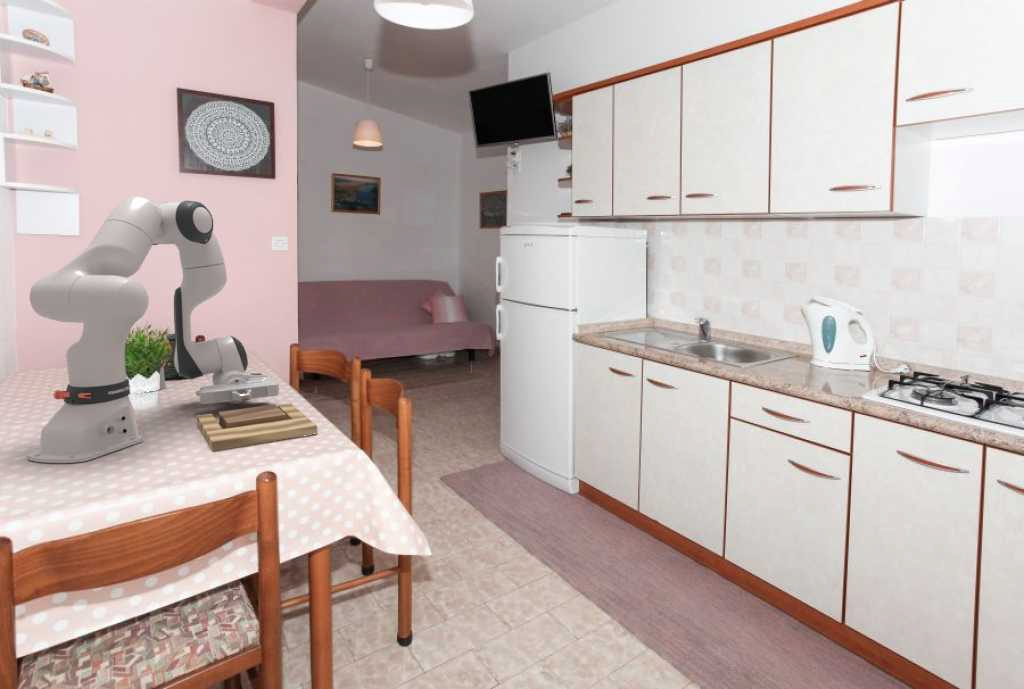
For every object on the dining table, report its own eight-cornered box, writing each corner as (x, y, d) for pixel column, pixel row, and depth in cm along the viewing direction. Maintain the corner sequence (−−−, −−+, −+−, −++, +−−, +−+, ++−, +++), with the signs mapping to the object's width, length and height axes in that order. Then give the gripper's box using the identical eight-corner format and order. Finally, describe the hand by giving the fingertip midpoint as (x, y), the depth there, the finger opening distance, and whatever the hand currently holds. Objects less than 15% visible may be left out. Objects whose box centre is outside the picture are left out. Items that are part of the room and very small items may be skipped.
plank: (218, 411, 158) (227, 423, 148) (274, 404, 166) (286, 414, 156) (219, 424, 159) (228, 436, 149) (275, 416, 166) (287, 427, 157)
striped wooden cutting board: (197, 423, 158) (196, 415, 157) (290, 410, 171) (290, 403, 170) (212, 451, 137) (212, 441, 137) (317, 434, 150) (317, 425, 150)
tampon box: (161, 375, 214) (157, 334, 212) (190, 373, 218) (187, 332, 216) (157, 381, 204) (154, 338, 202) (188, 379, 208) (185, 337, 206)
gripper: (193, 380, 168) (200, 390, 157) (271, 372, 179) (283, 381, 168) (195, 402, 169) (202, 414, 158) (272, 393, 180) (284, 404, 169)
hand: (244, 397), depth 163 cm, fingers closed
